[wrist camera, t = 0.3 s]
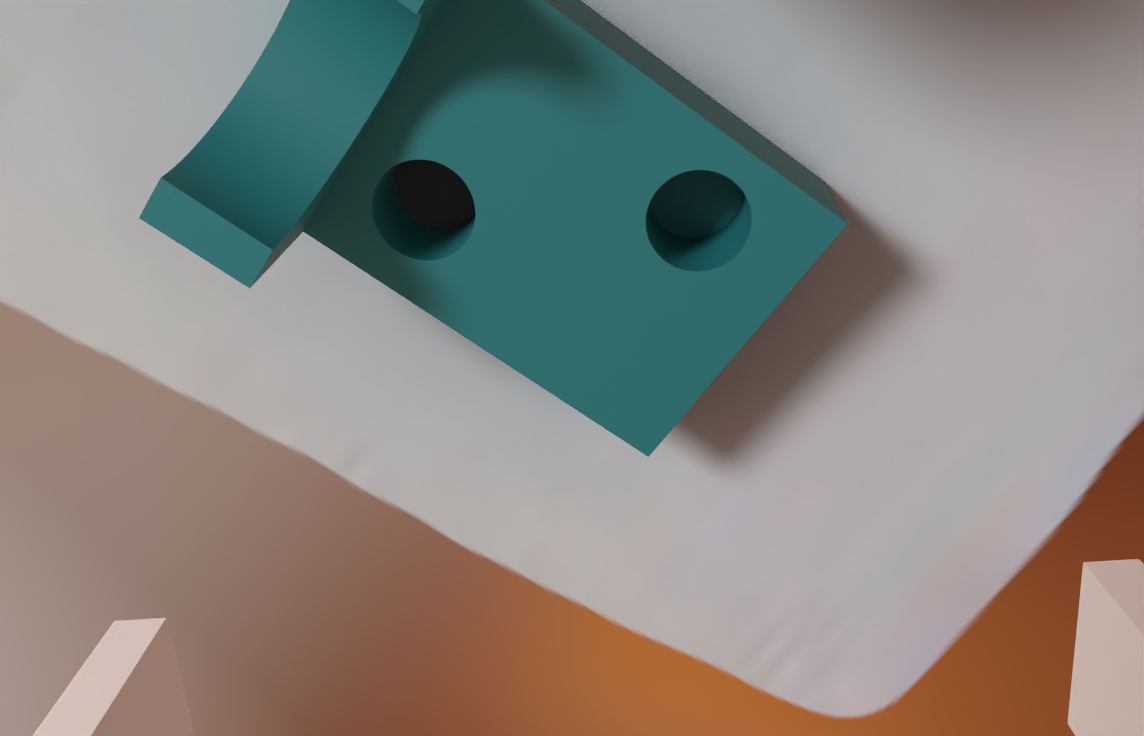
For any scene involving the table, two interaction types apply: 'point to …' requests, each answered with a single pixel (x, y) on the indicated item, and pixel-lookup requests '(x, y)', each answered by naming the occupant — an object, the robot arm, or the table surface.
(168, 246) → the table surface
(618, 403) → the teal l-shaped bracket
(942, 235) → the table surface
